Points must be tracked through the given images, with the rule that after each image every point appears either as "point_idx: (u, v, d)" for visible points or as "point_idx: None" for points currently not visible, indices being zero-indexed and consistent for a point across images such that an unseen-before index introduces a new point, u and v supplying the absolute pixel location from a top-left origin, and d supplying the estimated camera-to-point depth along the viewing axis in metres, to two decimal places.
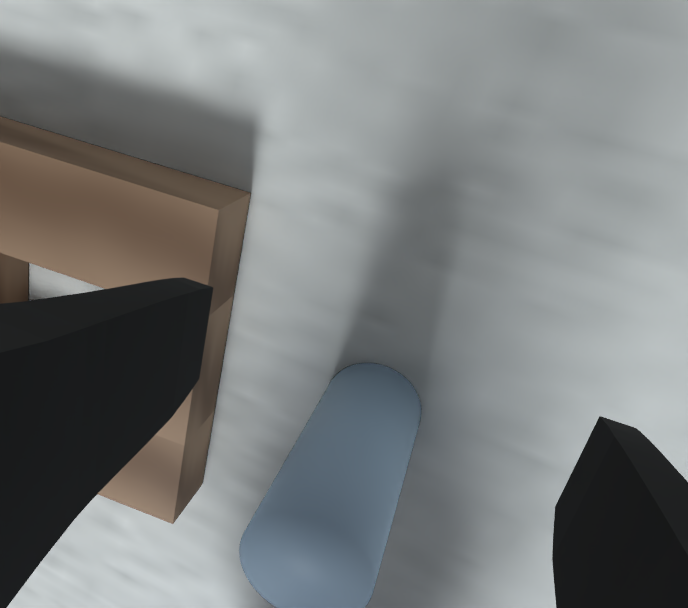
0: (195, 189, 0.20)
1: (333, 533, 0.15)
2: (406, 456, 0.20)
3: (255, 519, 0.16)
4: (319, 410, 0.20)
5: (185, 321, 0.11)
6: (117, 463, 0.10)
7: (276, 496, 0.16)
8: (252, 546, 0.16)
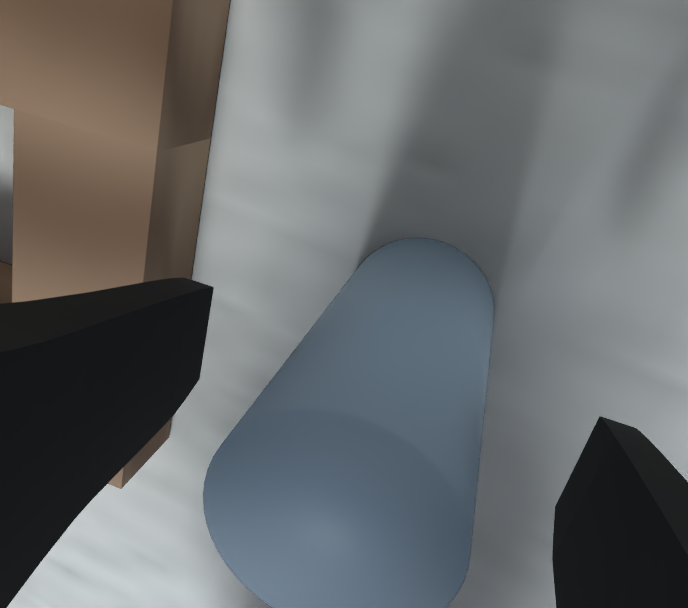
0: None
1: (390, 455, 0.07)
2: (487, 361, 0.12)
3: (233, 433, 0.08)
4: (343, 291, 0.13)
5: (185, 321, 0.11)
6: (117, 463, 0.10)
7: (274, 393, 0.08)
8: (227, 488, 0.08)
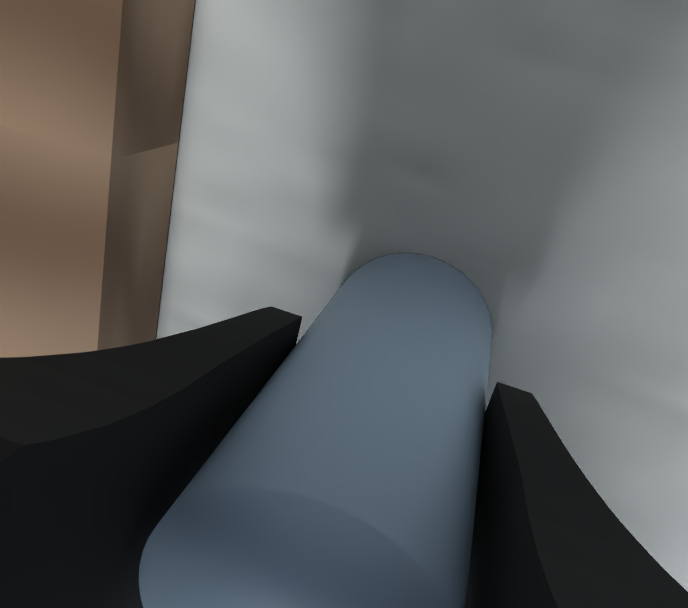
0: None
1: (360, 546, 0.06)
2: (484, 398, 0.11)
3: (170, 511, 0.07)
4: (321, 317, 0.11)
5: (279, 353, 0.10)
6: None
7: (224, 459, 0.07)
8: (167, 575, 0.07)
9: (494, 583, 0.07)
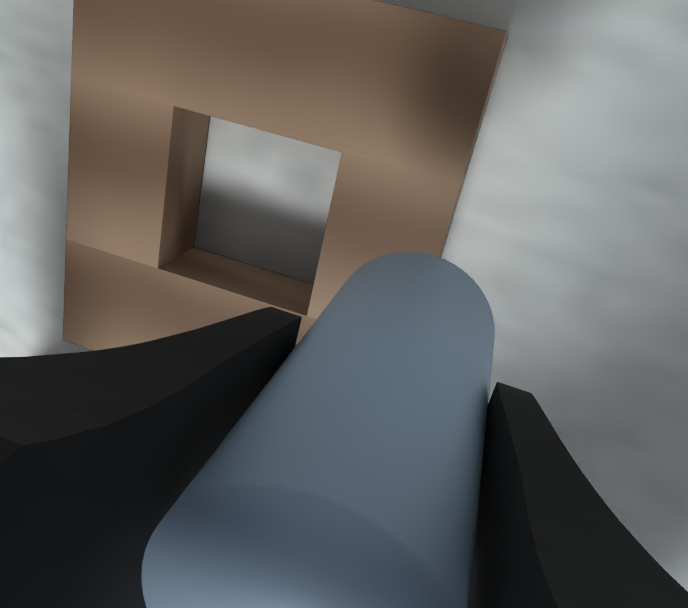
0: None
1: (364, 543, 0.06)
2: (486, 397, 0.11)
3: (173, 509, 0.07)
4: (323, 315, 0.11)
5: (279, 353, 0.10)
6: None
7: (226, 456, 0.07)
8: (169, 573, 0.07)
9: (494, 583, 0.07)
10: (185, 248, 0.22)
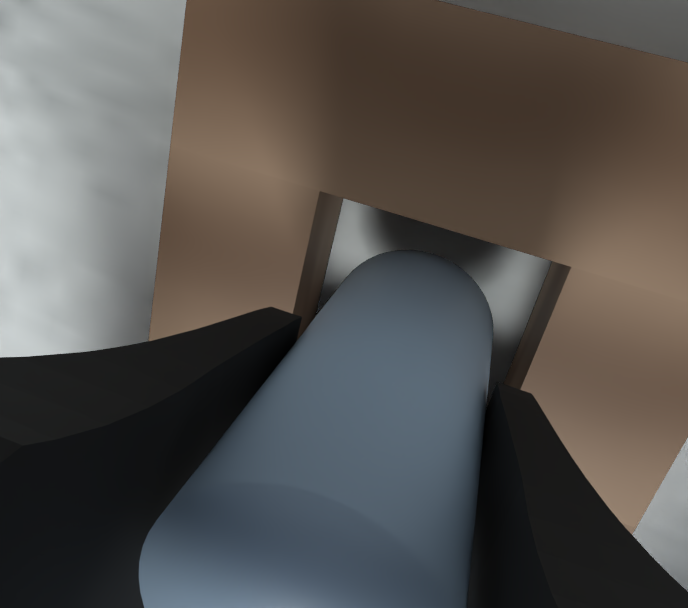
0: None
1: (361, 541, 0.06)
2: (485, 395, 0.10)
3: (170, 506, 0.07)
4: (322, 313, 0.11)
5: (279, 353, 0.10)
6: None
7: (224, 452, 0.07)
8: (166, 570, 0.07)
9: (494, 583, 0.07)
10: None
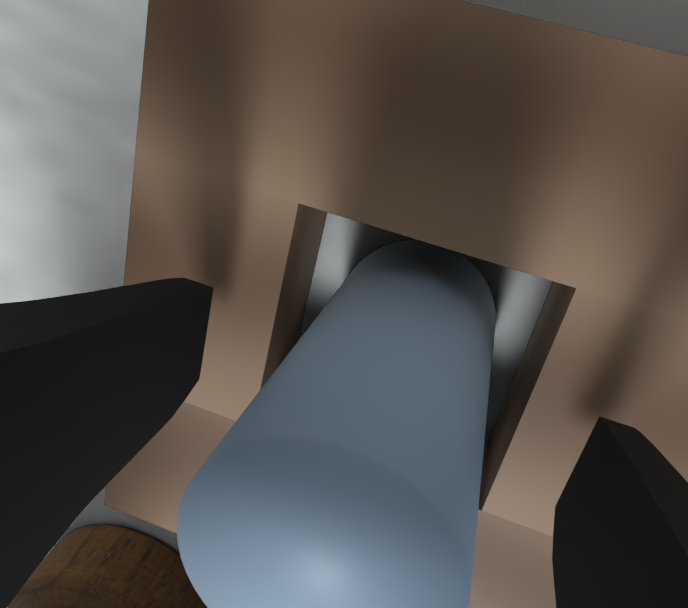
0: None
1: (381, 487, 0.07)
2: (488, 373, 0.11)
3: (207, 461, 0.07)
4: (335, 298, 0.12)
5: (185, 321, 0.11)
6: (117, 463, 0.10)
7: (254, 415, 0.08)
8: (202, 521, 0.08)
9: None
10: None
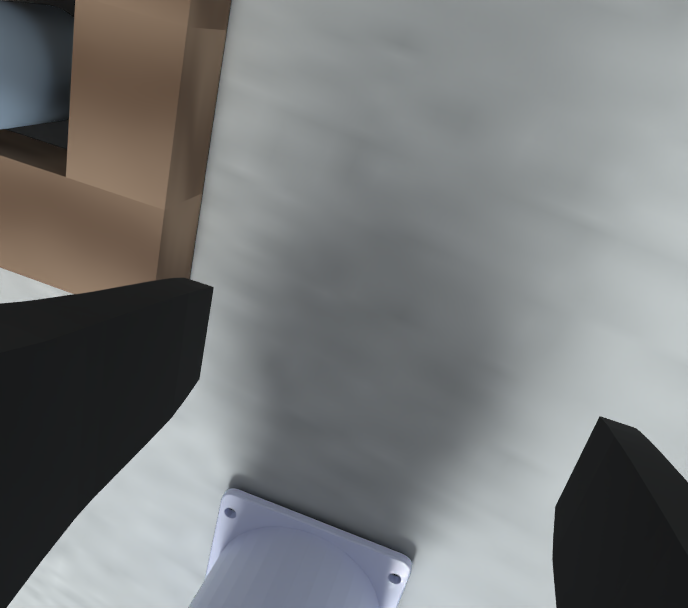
0: None
1: None
2: (28, 55, 0.18)
3: None
4: None
5: (185, 321, 0.11)
6: (117, 463, 0.10)
7: None
8: None
9: None
10: None
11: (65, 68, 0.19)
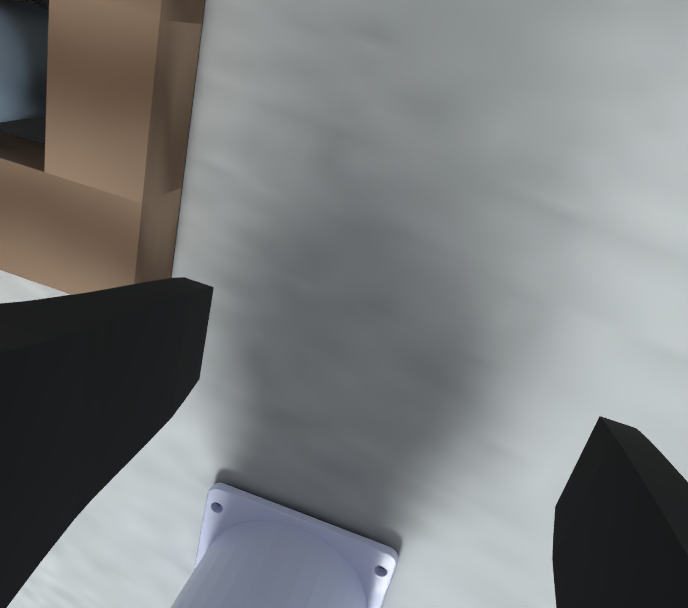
0: None
1: None
2: (4, 50, 0.18)
3: None
4: None
5: (185, 321, 0.11)
6: (117, 463, 0.10)
7: None
8: None
9: None
10: None
11: (42, 64, 0.19)
